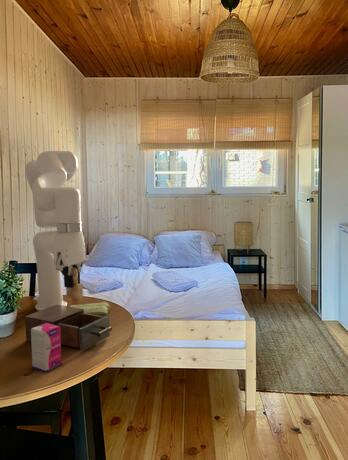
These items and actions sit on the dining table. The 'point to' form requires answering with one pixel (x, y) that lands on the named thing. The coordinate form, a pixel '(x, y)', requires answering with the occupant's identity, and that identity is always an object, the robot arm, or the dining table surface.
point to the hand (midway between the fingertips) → (72, 285)
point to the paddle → (75, 286)
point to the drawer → (84, 330)
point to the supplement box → (46, 347)
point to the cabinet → (49, 317)
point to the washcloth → (94, 308)
